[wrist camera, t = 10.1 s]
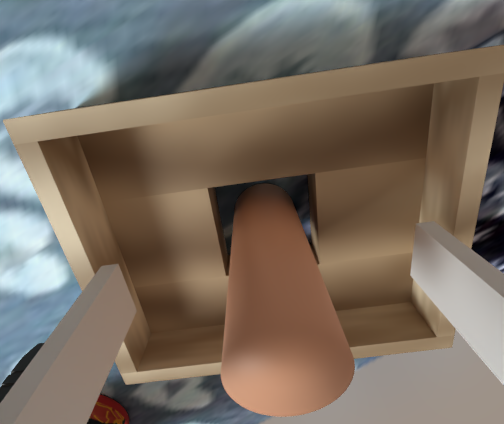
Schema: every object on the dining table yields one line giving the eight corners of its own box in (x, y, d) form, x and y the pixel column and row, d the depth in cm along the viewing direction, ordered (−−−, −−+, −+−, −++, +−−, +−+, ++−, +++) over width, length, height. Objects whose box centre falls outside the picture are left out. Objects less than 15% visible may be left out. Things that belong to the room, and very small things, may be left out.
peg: (229, 187, 19) (208, 333, 8) (291, 179, 19) (355, 315, 8) (239, 241, 21) (232, 422, 10) (296, 233, 21) (354, 409, 10)
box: (74, 108, 17) (2, 120, 12) (428, 55, 16) (511, 43, 11) (151, 319, 23) (125, 384, 18) (406, 288, 23) (451, 347, 18)
